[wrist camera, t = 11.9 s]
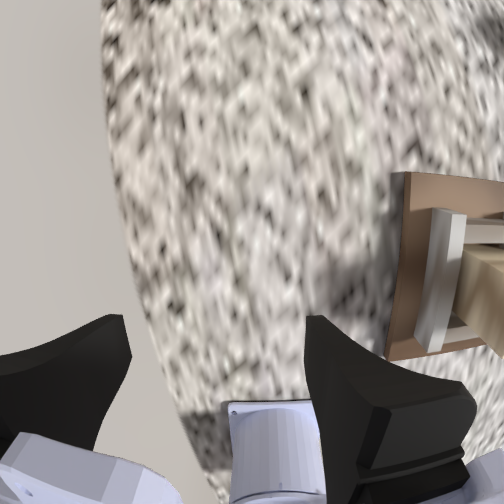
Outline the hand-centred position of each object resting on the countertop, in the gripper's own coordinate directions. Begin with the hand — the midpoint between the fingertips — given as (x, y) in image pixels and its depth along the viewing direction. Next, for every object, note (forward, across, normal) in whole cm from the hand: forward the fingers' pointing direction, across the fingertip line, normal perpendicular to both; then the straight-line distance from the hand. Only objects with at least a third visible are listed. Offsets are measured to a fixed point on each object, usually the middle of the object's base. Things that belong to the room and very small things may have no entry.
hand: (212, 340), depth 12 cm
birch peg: (+8, -18, +1) cm, 19 cm away
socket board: (+9, -18, +1) cm, 20 cm away
